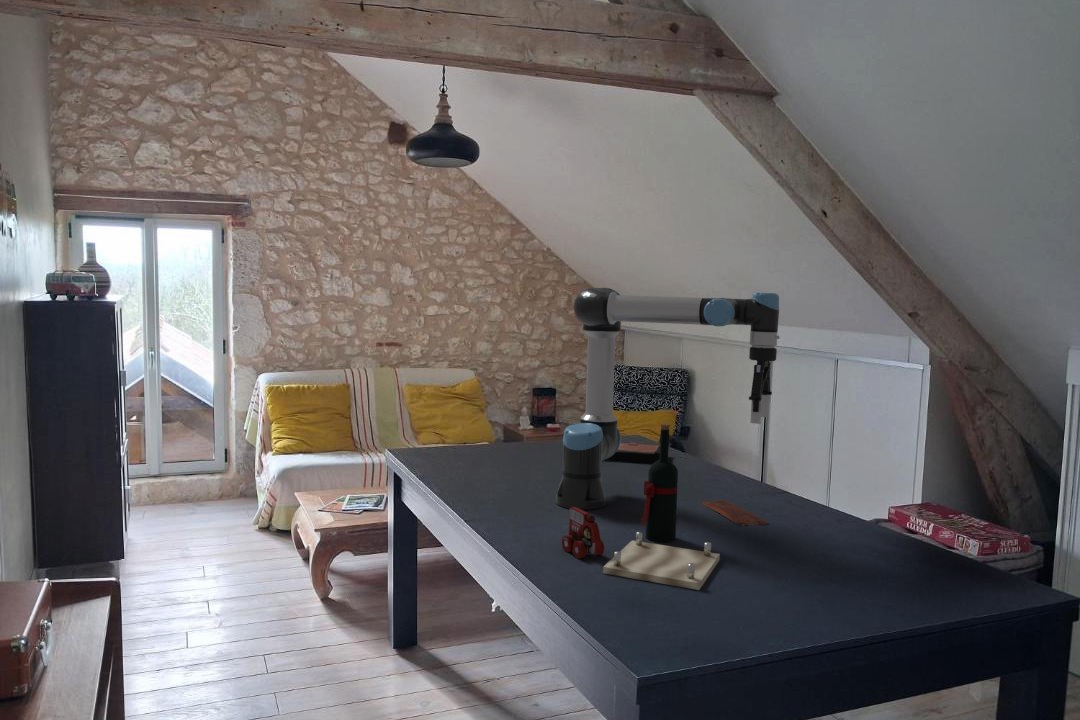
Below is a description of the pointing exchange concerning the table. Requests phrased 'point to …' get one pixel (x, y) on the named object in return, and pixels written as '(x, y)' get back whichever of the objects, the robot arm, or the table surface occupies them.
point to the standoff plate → (663, 563)
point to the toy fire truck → (582, 534)
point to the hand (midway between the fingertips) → (759, 420)
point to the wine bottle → (661, 495)
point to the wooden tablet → (735, 513)
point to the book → (636, 453)
